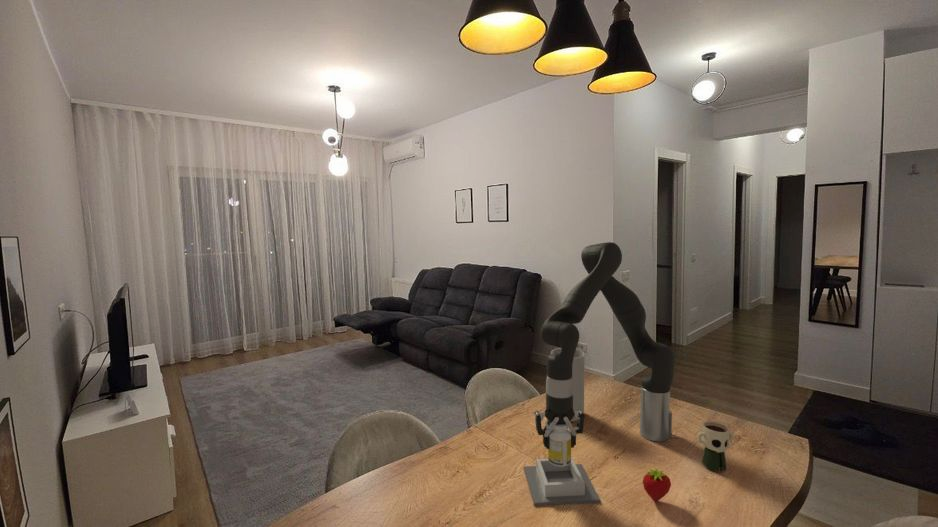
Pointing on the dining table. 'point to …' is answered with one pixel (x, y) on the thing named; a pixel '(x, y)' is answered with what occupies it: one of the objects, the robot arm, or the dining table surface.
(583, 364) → the cylinder vase
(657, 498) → the strawberry
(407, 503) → the dining table surface
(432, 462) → the dining table surface
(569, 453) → the pill bottle
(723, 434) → the character mug
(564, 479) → the bottle holder
